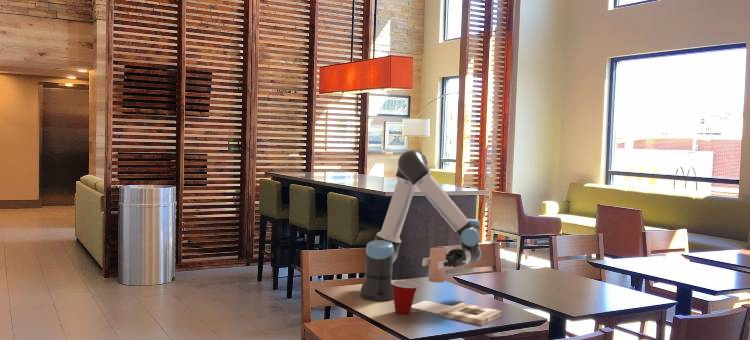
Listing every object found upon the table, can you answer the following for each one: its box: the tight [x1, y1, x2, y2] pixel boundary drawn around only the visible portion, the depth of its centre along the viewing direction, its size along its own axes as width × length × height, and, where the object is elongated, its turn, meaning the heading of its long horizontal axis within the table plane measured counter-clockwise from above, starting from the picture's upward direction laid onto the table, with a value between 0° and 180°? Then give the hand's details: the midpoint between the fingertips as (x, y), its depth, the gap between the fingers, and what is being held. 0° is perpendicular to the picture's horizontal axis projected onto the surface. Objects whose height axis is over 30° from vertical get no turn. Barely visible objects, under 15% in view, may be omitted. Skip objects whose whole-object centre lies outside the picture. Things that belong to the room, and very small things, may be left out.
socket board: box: [439, 302, 503, 326], centre depth 251 cm, size 18×18×2 cm
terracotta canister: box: [427, 247, 447, 284], centre depth 260 cm, size 6×6×13 cm
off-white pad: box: [411, 300, 452, 315], centre depth 262 cm, size 14×14×1 cm
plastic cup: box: [391, 279, 419, 315], centre depth 252 cm, size 11×11×12 cm
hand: (431, 263), depth 256 cm, fingers closed on terracotta canister, 6 cm apart
